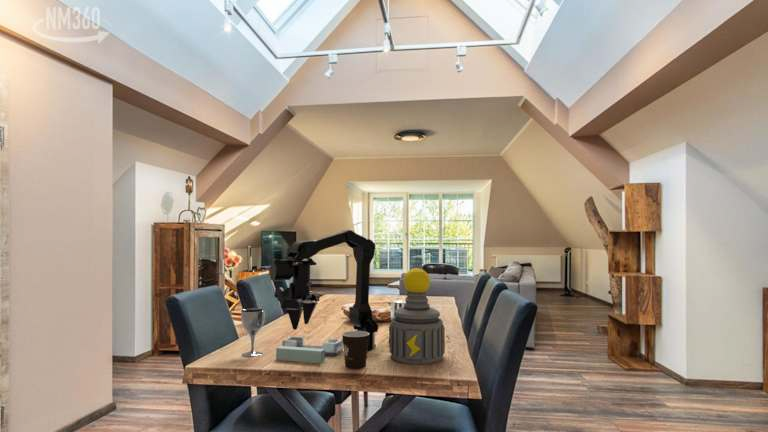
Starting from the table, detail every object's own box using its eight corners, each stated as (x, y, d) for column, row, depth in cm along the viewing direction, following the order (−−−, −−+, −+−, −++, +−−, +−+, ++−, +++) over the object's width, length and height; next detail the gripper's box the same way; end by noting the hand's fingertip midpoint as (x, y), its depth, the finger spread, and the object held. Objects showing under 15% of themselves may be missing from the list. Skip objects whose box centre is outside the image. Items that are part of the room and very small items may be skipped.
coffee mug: (370, 369, 129) (371, 336, 129) (342, 370, 127) (342, 337, 128) (366, 358, 140) (366, 328, 141) (340, 360, 139) (340, 329, 139)
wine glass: (269, 352, 147) (269, 309, 148) (253, 358, 140) (254, 312, 141) (251, 349, 151) (252, 307, 152) (235, 355, 144) (236, 311, 144)
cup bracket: (342, 350, 151) (342, 339, 151) (336, 355, 144) (336, 343, 144) (290, 347, 155) (290, 336, 155) (282, 352, 148) (282, 340, 148)
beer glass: (408, 341, 164) (408, 303, 165) (390, 341, 164) (390, 302, 165) (407, 337, 171) (407, 300, 171) (390, 337, 171) (390, 300, 172)
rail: (324, 361, 138) (324, 349, 138) (320, 364, 135) (321, 351, 135) (280, 357, 142) (280, 345, 142) (276, 360, 139) (276, 348, 139)
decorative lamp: (443, 367, 132) (443, 270, 133) (384, 363, 135) (384, 269, 137) (445, 351, 150) (445, 266, 152) (393, 348, 154) (393, 266, 155)
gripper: (290, 276, 151) (290, 320, 150) (265, 281, 133) (264, 331, 132) (320, 277, 149) (319, 321, 148) (298, 282, 131) (297, 333, 130)
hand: (300, 326), depth 139 cm, fingers open, 9 cm apart
